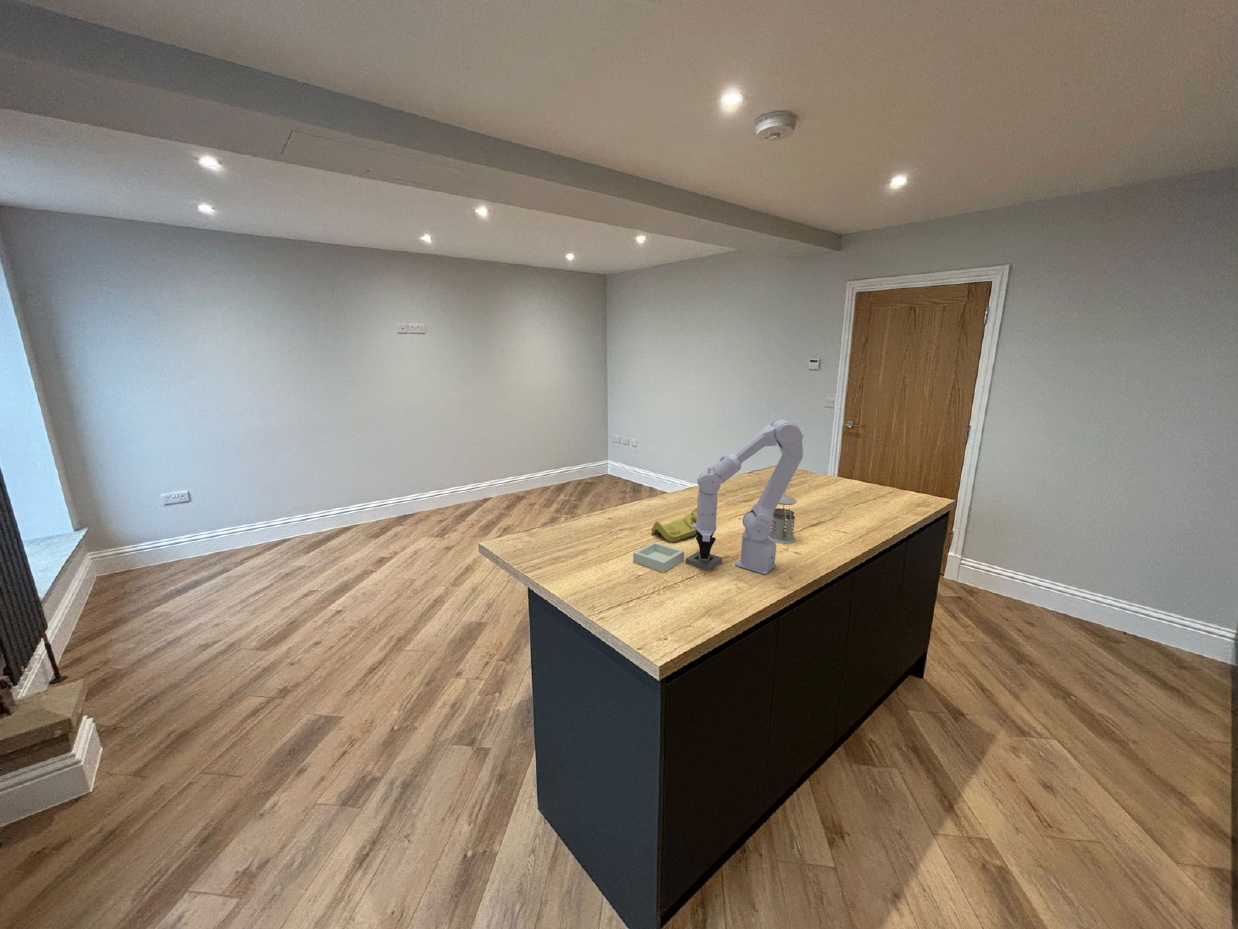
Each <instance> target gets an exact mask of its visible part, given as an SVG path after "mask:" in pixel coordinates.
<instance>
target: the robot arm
mask: <svg viewBox="0 0 1238 929" xmlns="http://www.w3.org/2000/svg"><path fill="white" fill-rule="evenodd" d="M803 438H804V435H803V433H802V431H801V429H800V427H799V426H798V424H796V423H795V422H791V421H789V420H788V419H786V418H785V417H784V418H783V417H780V418H776V419H773V421H772V422H771V423H770V424H767V425H766V426H765V425H764V427H763V428H762V429H761V430H760V431H759V432H757V434H755V435H754V436H753V437H752V438H751V439H750V440H749V441H748V442H746V443H745V444H744V445H743V446H741V447H740V449H738V450H737V451H736V452H734V454H732V453H731V454H730V453H728V454H726V455H724V454H722V455H721V456H720V457H719V459H720V460H718V461H717V462H715V463H714V464H713V465H712V466H711V467H710V466H708V467H707V468H706V471H702V472H701V473H700V474H699V475H698V478H697V479H696V481H697V485H698V492H697V494H698V496H697V504H696V506H697V507H696V508H697V520H696V524H693V525H692V528H693V529H696V534H695V540H696V542H697V545H698V550H699V549H700V557H701V559H708V558H709V554H711V550H712V547H713V545H714V543H715V542H716V539H717V538H716V537H713V536H714V534H715V532H716V531H717V514H718V513H717V512H718V492H719V490H720V488H721V485H722V484H725V482H727V481H728V480H729V479H730V478H732V477H733V476H735V474H738V472H739V471H741V469H742V464H743V462H745V461H747V460H748V459H749V458H751V457H752V456H754V455H755V454H757V453H758V452H759V451H761V450H762V449H763V448H764V447H775V446H778V448H779V450H780V453H781V456H780V458H779V460H778V462H777V464H776V466H775V468H774V470H773V472H772V474H771V475H770V478H769V479H768V482H767V483H766V485H765V487H764V489H763V491H762V492H761V495H760V497H759V499H758V501H757V502H756V503H755V504H753V505H752V507H751V508H750V510H749V511H747V512H746V513H745V514H744V515H743V517H742V525H743V526H744V531H743V532H742V537H741V548H740V549H741V550H740V551H741V552H740V559H739V560H738V561H736V562H735V564H734V566H736V567H739V568H743V569H745V570H749V571H753V572H756V573H759V574H762V575H766V574H768V573H769V572H771V570H773V569H774V568H775V567H776V554H777V543H775V542H773V541H771V540H769V539H768V536H769V535H770V531H771V530H770V528H771V524H772V522H773V513H774V510H775V509H777V506H778V505H779V504H778V503H779V501H780V499H781V497H782V495H784V494H785V493H786V492H785V490H787V488H788V486H789V484H790V482H791V480H792V478H793V476H794V475H795V473H796V471H797V469H798V468H799V466H800V465H801V464H800V463H801V461H802V460H803V457H804V449H803V448H804V447H803Z"/></svg>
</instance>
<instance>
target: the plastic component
mask: <svg viewBox="0 0 1238 929" xmlns="http://www.w3.org/2000/svg"><path fill="white" fill-rule="evenodd" d="M696 520H697V507H696V508H695V509H693V510H692V511H691V512H690V513H686V515H685V516H684V517H683V518H680V519H677V520H675V521H671V522H669V523H665V524H663V525H662V523H661V522H660V521H658V520H657V521H655V523H654V524H653V525H652V528H651V529H650V531H651V533H652V534H658V533H660V535H661V536H662V537H663V538H664V539H665V540H666V541H667V542H669V543H677V542H679V541H682V540H684V539H687V538H689V537H692V536H696V535H697V532H696V529H693V528H692V525H693V524H696Z"/></svg>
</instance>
